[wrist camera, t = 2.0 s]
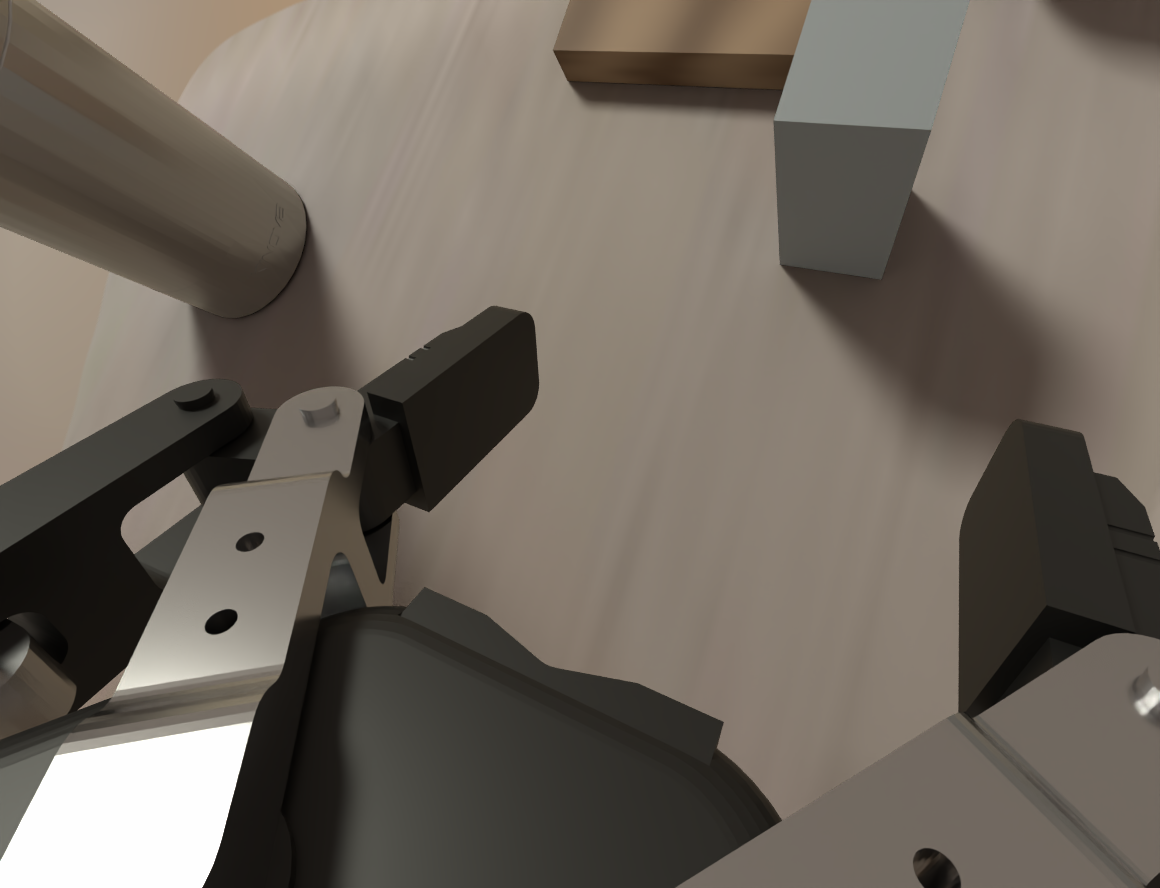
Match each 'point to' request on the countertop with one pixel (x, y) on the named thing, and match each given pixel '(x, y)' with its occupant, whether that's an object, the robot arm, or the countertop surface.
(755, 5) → the walnut board
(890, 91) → the slate block
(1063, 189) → the countertop surface
